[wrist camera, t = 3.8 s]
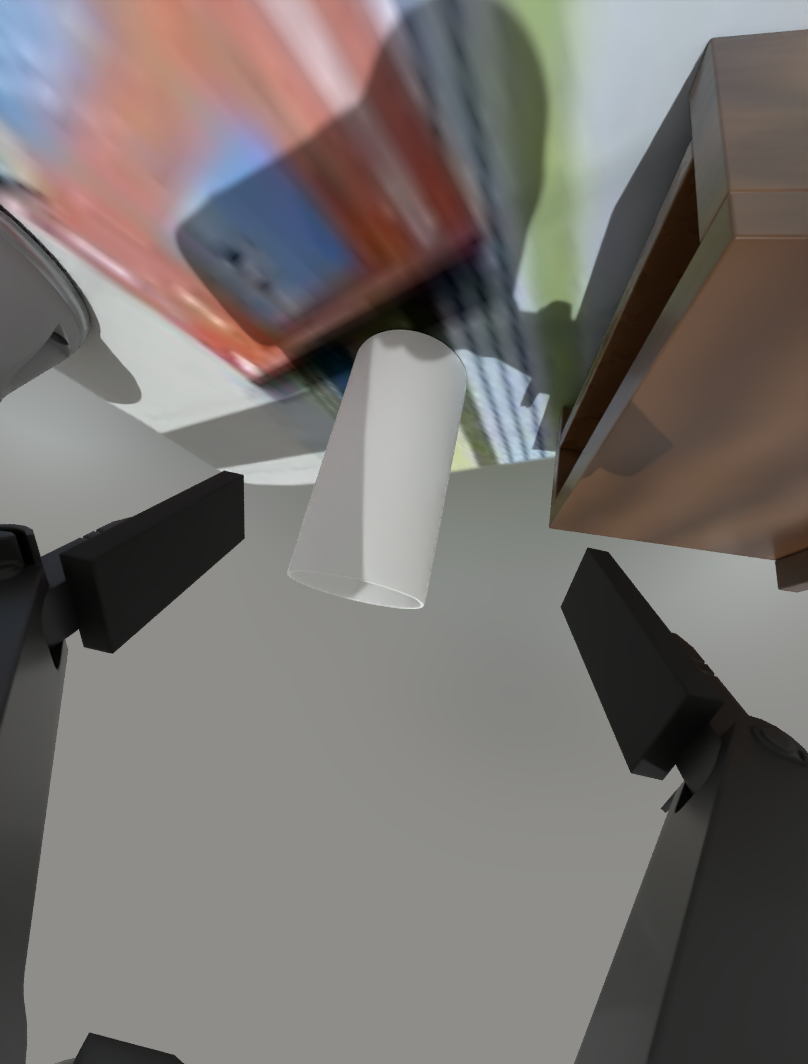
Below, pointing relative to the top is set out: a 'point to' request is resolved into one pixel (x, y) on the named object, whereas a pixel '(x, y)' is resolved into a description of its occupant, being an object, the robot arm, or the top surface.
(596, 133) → the top surface
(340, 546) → the cup
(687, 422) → the small wooden box
